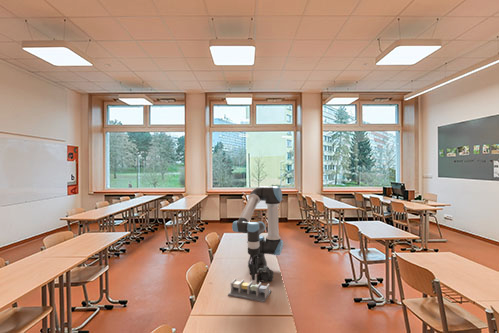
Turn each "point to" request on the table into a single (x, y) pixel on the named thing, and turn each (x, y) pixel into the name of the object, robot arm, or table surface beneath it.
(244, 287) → the key mustard
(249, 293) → the grey slotted rack
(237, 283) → the key cream
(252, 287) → the key sage
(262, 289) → the key slate
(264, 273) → the camera
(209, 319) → the table surface
